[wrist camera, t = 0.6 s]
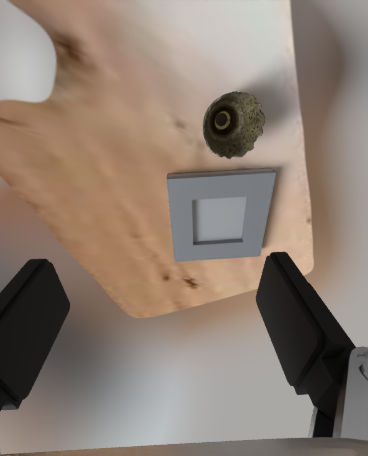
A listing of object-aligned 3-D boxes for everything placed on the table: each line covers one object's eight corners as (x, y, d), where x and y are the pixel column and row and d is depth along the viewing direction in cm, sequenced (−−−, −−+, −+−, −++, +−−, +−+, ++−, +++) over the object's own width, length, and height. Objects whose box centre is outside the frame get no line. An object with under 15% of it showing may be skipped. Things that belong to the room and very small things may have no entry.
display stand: (167, 174, 37) (166, 179, 35) (270, 168, 37) (276, 172, 35) (174, 254, 47) (174, 261, 45) (256, 249, 47) (259, 256, 45)
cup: (213, 79, 30) (225, 77, 23) (255, 107, 32) (277, 112, 25) (188, 131, 33) (192, 142, 26) (228, 153, 35) (241, 168, 28)
